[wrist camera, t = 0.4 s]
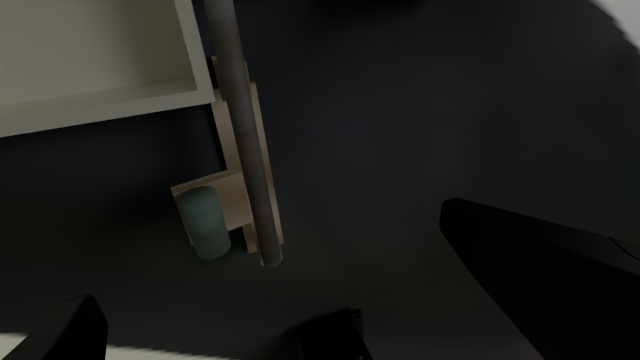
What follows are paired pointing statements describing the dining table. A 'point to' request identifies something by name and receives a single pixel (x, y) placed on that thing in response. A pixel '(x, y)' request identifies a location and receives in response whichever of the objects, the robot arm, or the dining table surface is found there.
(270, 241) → the lever
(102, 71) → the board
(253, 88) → the catapult stand
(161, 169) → the dining table surface
